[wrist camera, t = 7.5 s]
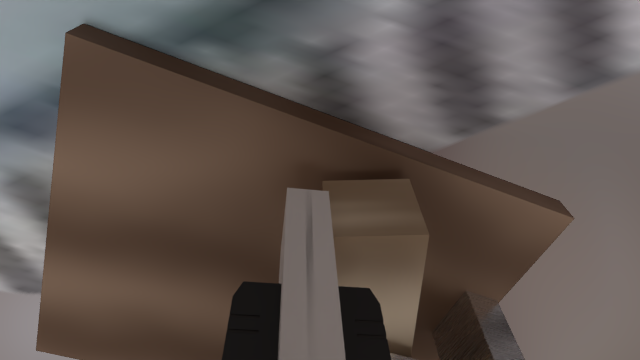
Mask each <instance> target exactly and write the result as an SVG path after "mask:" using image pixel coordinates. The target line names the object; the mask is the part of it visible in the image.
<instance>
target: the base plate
mask: <svg viewBox="0 0 640 360" xmlns="http://www.w3.org/2000/svg"><path fill="white" fill-rule="evenodd" d="M380 179H410V182H411V185H412V188H413V190H414V193H415V196H416V199H417V202H418V204H419V207H420V210H421V213H422V215H423V218H424V221H425V224H426V227H427V229H428V232H429V241H428V247H427V254H426V260H425V267H424V273H423V280H422V286H421V293H420V299H419V306H418V312H417V319H416V325H415V332H414V338H413V345H412V352H411V358H412V359H416V360H440V359H439V356H438V352H437V349H436V345H435V341H434V338H433V334H432V332H433V330H434V329H435V328H436V327H437V325H438V324H439V323H440V322H441V321H442V319H443V318H444V317H445V316H446V315H447V313H448V312H449V311H450V310H451V309H452V307H453V306H454V305H455V304H456V302H457V301H458V300H459V299H460V298H461V296H462V295H463V294H464V293H465V292H466V291H469V292H472V293H476V294H479V295H482V296H486V297H489V298H492V299H496V300H497V302H498V303H499V302H500V300H502V298H503V297H504V296H505V295H506V294H507V293H508V292H509V291H510V290H511V288H512V287H513V286H514V285H515V284H516V283H517V282H518V281H519V280H520V278H521V277H522V276H523V275H524V274H525V273H526V272H527V271H528V270H529V268H530V267H531V266H532V265H533V264H534V263H535V261H537V260H538V258H539V257H540V256H541V255H542V254H543V253H544V252H545V250H547V248H548V247H549V246H550V245H551V244H552V243H553V242H554V241H555V240H556V238H557V237H558V236H559V235H560V234H561V233H562V232H563V231H564V230H565V228H566V227H567V226H568V225H569V224H570V223H571V222H572V221H573V220H574V218H573V216H572V215H571V214H570V213H569V211H568V210H567V209H566V208H565V207H564V206H563V204H562V203H561V202H560V201H559V200H556V199H553V198H550V197H548V196H545V195H542V194H539V193H537V192H534V191H532V190H529V189H526V188H524V187H521V186H518V185H515V184H513V183H510V182H508V181H505V180H502V179H499V178H497V177H494V176H491V175H489V174H486V173H483V172H481V171H478V170H475V169H473V168H470V167H467V166H465V165H462V164H459V163H457V162H454V161H451V160H448V159H446V158H443V157H440V156H437V155H435V154H432V153H430V152H427V151H424V150H422V149H419V148H416V147H414V146H411V145H408V144H406V143H403V142H400V141H397V140H395V139H392V138H389V137H387V136H384V135H381V134H379V133H376V132H373V131H371V130H368V129H365V128H363V127H360V126H357V125H354V124H352V123H349V122H346V121H344V120H341V119H338V118H336V117H333V116H330V115H328V114H325V113H322V112H320V111H317V110H314V109H312V108H309V107H306V106H303V105H301V104H298V103H295V102H293V101H290V100H287V99H285V98H282V97H279V96H277V95H274V94H271V93H269V92H266V91H263V90H261V89H258V88H255V87H252V86H250V85H247V84H244V83H242V82H239V81H236V80H234V79H231V78H228V77H226V76H223V75H220V74H218V73H215V72H212V71H210V70H207V69H204V68H201V67H199V66H196V65H193V64H191V63H188V62H185V61H183V60H180V59H177V58H175V57H172V56H169V55H167V54H164V53H161V52H159V51H156V50H153V49H150V48H148V47H145V46H142V45H140V44H137V43H134V42H132V41H129V40H126V39H124V38H121V37H118V36H116V35H113V34H110V33H107V32H105V31H102V30H99V29H97V28H94V27H91V26H89V25H86V24H82V25H80V26H78V27H76V28H74V29H72V30H70V31H68V32H66V34H65V45H64V56H63V66H62V77H61V88H60V99H59V109H58V120H57V131H56V141H55V152H54V163H53V174H52V184H51V195H50V206H49V216H48V227H47V238H46V249H45V259H44V270H43V281H42V291H41V303H40V314H39V324H38V335H37V346H36V351H41V352H46V353H50V354H55V355H60V356H65V357H69V358H75V359H79V360H222V355H223V349H224V343H225V338H226V332H227V326H228V320H229V315H230V309H231V303H232V297H233V295H234V294H235V292H236V291H237V289H238V288H239V287H240V285H241V284H242V282H243V281H246V282H262V283H279V270H280V253H281V243H282V233H283V223H284V214H285V204H286V194H287V188H297V189H309V190H320V191H323V188H322V181H338V180H380Z"/></svg>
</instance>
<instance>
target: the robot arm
mask: <svg viewBox="0 0 640 360" xmlns="http://www.w3.org/2000/svg"><path fill="white" fill-rule="evenodd" d="M383 322H384V321H383V316H382V311H381V306H380V303H379V301H378V300H377V298H376V297H375V295H374V294H373V292H372V291H371V290H370V288H361V287H344V286H338V279H337V269H336V259H335V249H334V239H333V229H332V219H331V209H330V199H329V191H320V190H309V189H297V188H287V194H286V204H285V214H284V223H283V233H282V243H281V253H280V270H279V283H262V282H246V281H243V282H242V284H241V285H240V287H239V288H238V289H237V291H236V292H235V294H234V295H233V297H232V303H231V309H230V315H229V320H228V326H227V332H226V338H225V343H224V349H223V355H222V360H391V355H390V350H389V345H388V340H387V339H386V331H385V326H384V324H383Z"/></svg>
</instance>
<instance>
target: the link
mask: <svg viewBox="0 0 640 360" xmlns="http://www.w3.org/2000/svg"><path fill="white" fill-rule="evenodd" d="M322 188H323V191H329V199H330V209H331V219H332V229H333V239H334V249H335V259H336V269H337V279H338V286H344V287H361V288H370V290H371V291H372V292H373V294H374V295H375V297H376V298H377V300H378V301H379V303H380V306H381V311H382V316H383V321H384V322H383V324H384V326H385V331H386V339H387V340H388V345H389V350H390V353H392V354H396V355H400V356H404V357H408V358H411V352H412V345H413V338H414V332H415V325H416V319H417V312H418V306H419V299H420V293H421V286H422V280H423V273H424V267H425V260H426V254H427V247H428V241H429V232H428V229H427V227H426V224H425V221H424V218H423V215H422V213H421V210H420V207H419V204H418V202H417V199H416V196H415V193H414V190H413V188H412V185H411V182H410V179H380V180H338V181H322Z"/></svg>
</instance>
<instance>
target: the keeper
mask: <svg viewBox="0 0 640 360" xmlns="http://www.w3.org/2000/svg"><path fill="white" fill-rule="evenodd" d="M432 334H433V338H434V341H435V345H436V349H437V352H438V356H439V359H440V360H525V359H524V357H523V355H522V353H521V350H520V348H519V346H518V344H517V342H516V340H515V338H514V336H513V333H512V331H511V329H510V327H509V325H508V323H507V321H506V319H505V316H504V314H503V312H502V310H501V308H500V306H499V304H498V302H497V300H496V299H492V298H489V297H486V296H482V295H479V294H476V293H472V292H469V291H466V292H465V293H464V294H463V295H462V296H461V298H460V299H459V300H458V301H457V302H456V304H455V305H454V306H453V307H452V309H451V310H450V311H449V312H448V313H447V315H446V316H445V317H444V318H443V319H442V321H441V322H440V323H439V324H438V325H437V327H436V328H435V329H434V330H433V332H432ZM390 355H391V360H416V359H412V358H408V357H404V356H400V355H396V354H392V353H390Z"/></svg>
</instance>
